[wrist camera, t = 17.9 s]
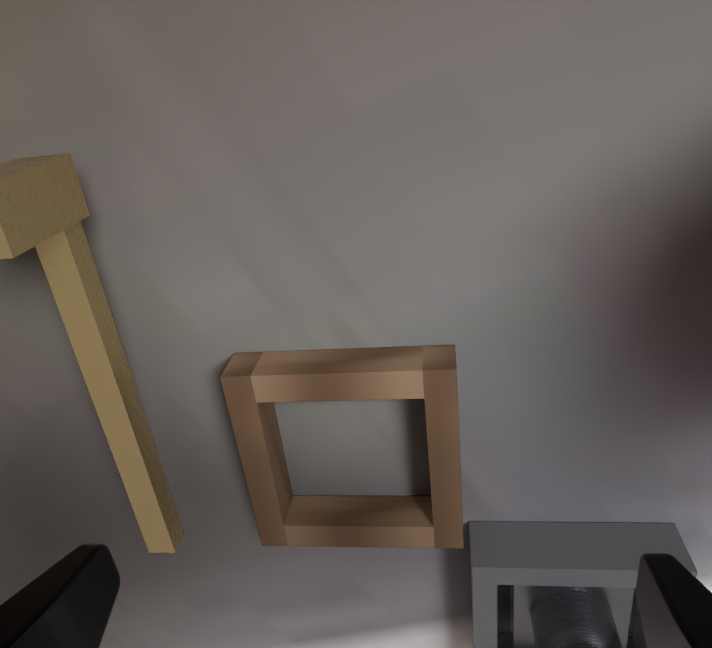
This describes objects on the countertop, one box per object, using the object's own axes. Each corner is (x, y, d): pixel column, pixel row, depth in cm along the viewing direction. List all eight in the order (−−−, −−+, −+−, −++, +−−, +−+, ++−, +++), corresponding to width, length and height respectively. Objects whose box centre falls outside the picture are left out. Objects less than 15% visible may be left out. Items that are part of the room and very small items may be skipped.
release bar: (70, 153, 19) (-16, 185, 15) (192, 535, 26) (154, 616, 22) (13, 159, 19) (-84, 190, 15) (150, 534, 26) (105, 614, 23)
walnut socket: (455, 344, 22) (456, 369, 21) (461, 516, 26) (463, 548, 25) (234, 353, 24) (220, 377, 22) (272, 515, 28) (262, 545, 26)
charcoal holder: (674, 523, 25) (697, 572, 23) (651, 652, 29) (669, 704, 27) (468, 521, 26) (472, 567, 24) (473, 645, 30) (476, 694, 28)
